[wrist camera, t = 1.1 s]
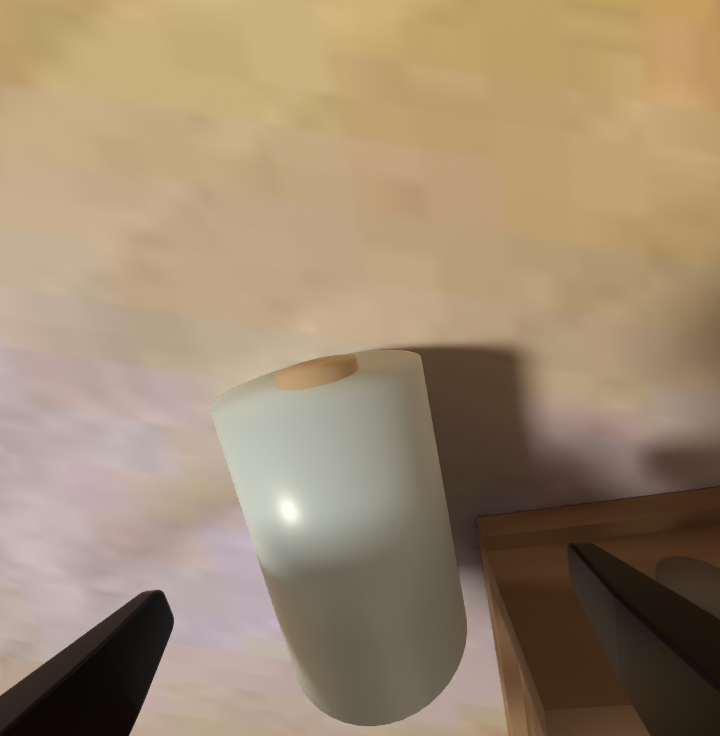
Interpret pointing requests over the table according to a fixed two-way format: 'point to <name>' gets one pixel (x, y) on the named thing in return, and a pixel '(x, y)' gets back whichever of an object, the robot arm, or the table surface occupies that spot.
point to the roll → (350, 528)
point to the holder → (564, 612)
